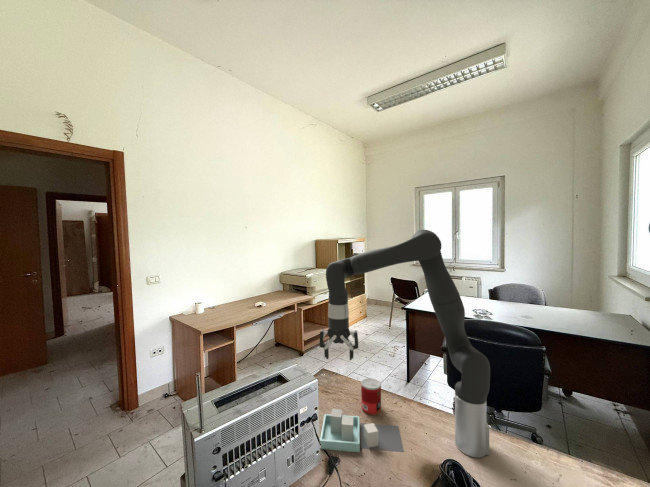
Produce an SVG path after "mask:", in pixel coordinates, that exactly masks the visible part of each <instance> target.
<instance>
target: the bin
mask: <svg viewBox="0 0 650 487" xmlns="http://www.w3.org/2000/svg"><path fill="white" fill-rule="evenodd" d="M342 415H343V417H353V424H354V438H353V442H349V441H342V432H341V434H339V433H332V432H331V423H330V416H331V413H329V414H328V413H327V414H326V413H324V415H323V422H322V428H321V433H320V436H319V437H320V438H319V445H320V444H321V449H320V450H326V451H327V450H329V451H337V452H338V451H340V452H351V453H353V452H354V453H360V451H361V431H360V416H359V415H345V414H342Z"/></svg>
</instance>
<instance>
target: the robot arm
mask: <svg viewBox="0 0 650 487" xmlns="http://www.w3.org/2000/svg"><path fill="white" fill-rule="evenodd" d="M411 262H418V263H419V265H420V267H421V269H422V272H423V276H424V280H425V285H426V286H425V287H426V290H427V292H428V293H427V294H428V296H429V300H430V303H431V306H432V307H433V310H434V314H435V315H436V318H437V321H438V324H439V326H440V328H441V330H442V333H443V335H444V339H445V342H446V347H447V350H448V354H449V358H450V360H451V363H452V365H453V366H454V368H456V370H458V371H459V372H460V373H461V380H460V381H457V382H455V384H454V429H455V430H454V441H455V442H454V443H455V446H456V447H457V448H458V449H459V451H461V452H462V453H463V454H464V455H467V456H469V457H472V458H477V459H479V458H484V457H485V456H490V425H489V424H488V423H489V422H487V398H488V395H489V392H490V385H491V383H490V382H491V364H490V361H489V359H488V358H487V356H486V355H485V354H483V353H482V352H481V351H479V350H478V349H476V348H475V347H474V346H473V345H472V343H471V342H470V339H469V337H468V335H467V333H466V329H465V319H466V318H465V317H466V312H465V311H466V310H465V307H464V303H463V300H462V297H461V295H460V293H459V290H458V289H457V286H456V284H455V281H454V280H453V278H452V276H451V274H450V272H449V271H448V268H447V267H446V264H445V263H444V259H443V255H442V242H441V239H440V237H439V236H438V235H437V234H436V233H435V232H433V231H432V230H429V229H420V230H417V231H416V232H415V233H414V234H413V235H412V236H411V238H409V239H408V240H406V241H403V242H401V243H398V244H396V245H393V246H391V245H390V246H388V247H387V246H386V247H384V248H383V247H382V248H377V249H372V250H368V251H364V252H362V253H359V254H355V255H353V256H351V257H347V258H343V259H338V260H336V261H332V262H330V263H329V264H328V265H327V267H326V270H325V281H326V286H327V289H328V307H327V308H328V309H327V311H328V312H327V313H328V314H327V316H328V319H327V320H328V330H324V329H323V328H322V329H320V332H319V344H318V346H319V348H322V349H324V358H325V359H326V360H329V358H330V348H329V347H330V346H331V345H332V343H334V344H345V345H346V347H348V348H349V361H352V359H354V350H358V349H359V336H358V335H359V334H358V330H353V331H351V330H350V321H349V320H350V317H349V315H350V311H349V310H350V309H349V302H348V301H349V294H348V293H349V292H348V288H347V287H346V284H345V283H346V282H345V280H346V278H349V277H351V276H356V275H363V274H367V273H370V272H373V271H377V270H380V269H383V268H387V267H391V266H394V265H399V264H404V263H411ZM326 335H327V336H328V339H327V341H326V342H324V339H325V337H326ZM350 336H351V337H352V338H353V339H354V344H353V343H352V341H351V340H350V338H349V337H350Z"/></svg>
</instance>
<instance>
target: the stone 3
mask: <svg viewBox="0 0 650 487" xmlns="http://www.w3.org/2000/svg"><path fill="white" fill-rule="evenodd" d="M374 424H375V423H374V422H372V423H367V424H365V425H364V440H365V442H366V444H367V446H368V448H370V447H375V446H378V430H377V428H376V427H375V425H374Z"/></svg>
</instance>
